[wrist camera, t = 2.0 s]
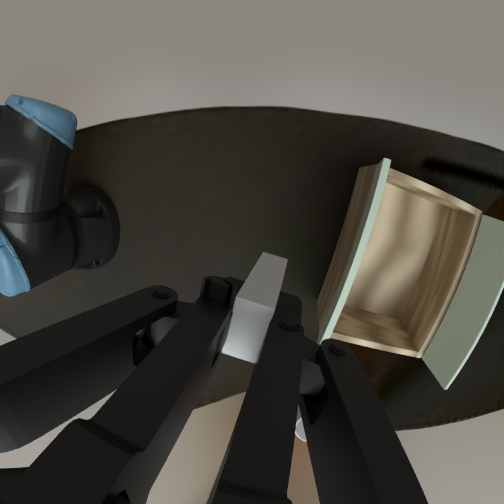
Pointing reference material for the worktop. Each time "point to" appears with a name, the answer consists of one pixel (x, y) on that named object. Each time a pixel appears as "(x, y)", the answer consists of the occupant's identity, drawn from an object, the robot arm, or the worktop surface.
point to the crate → (400, 264)
